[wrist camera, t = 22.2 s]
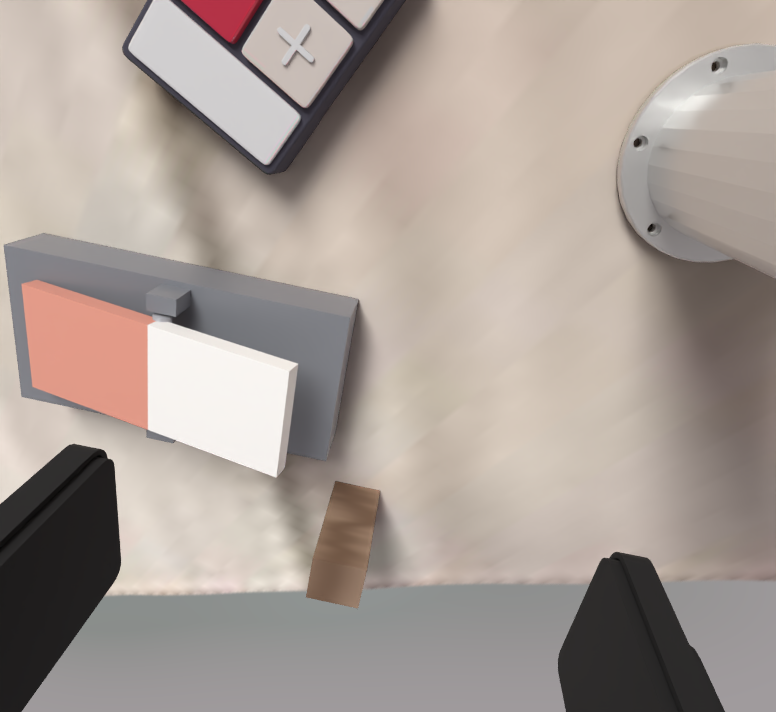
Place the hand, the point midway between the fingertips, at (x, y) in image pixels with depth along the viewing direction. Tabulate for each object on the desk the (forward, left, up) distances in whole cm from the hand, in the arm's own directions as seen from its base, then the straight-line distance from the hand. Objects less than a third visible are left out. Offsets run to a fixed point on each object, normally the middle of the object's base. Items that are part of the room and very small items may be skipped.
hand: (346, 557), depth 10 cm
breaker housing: (+15, +11, -30) cm, 35 cm away
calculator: (+11, -11, -31) cm, 34 cm away
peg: (+1, +24, -30) cm, 39 cm away
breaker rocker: (+15, +11, -24) cm, 31 cm away
